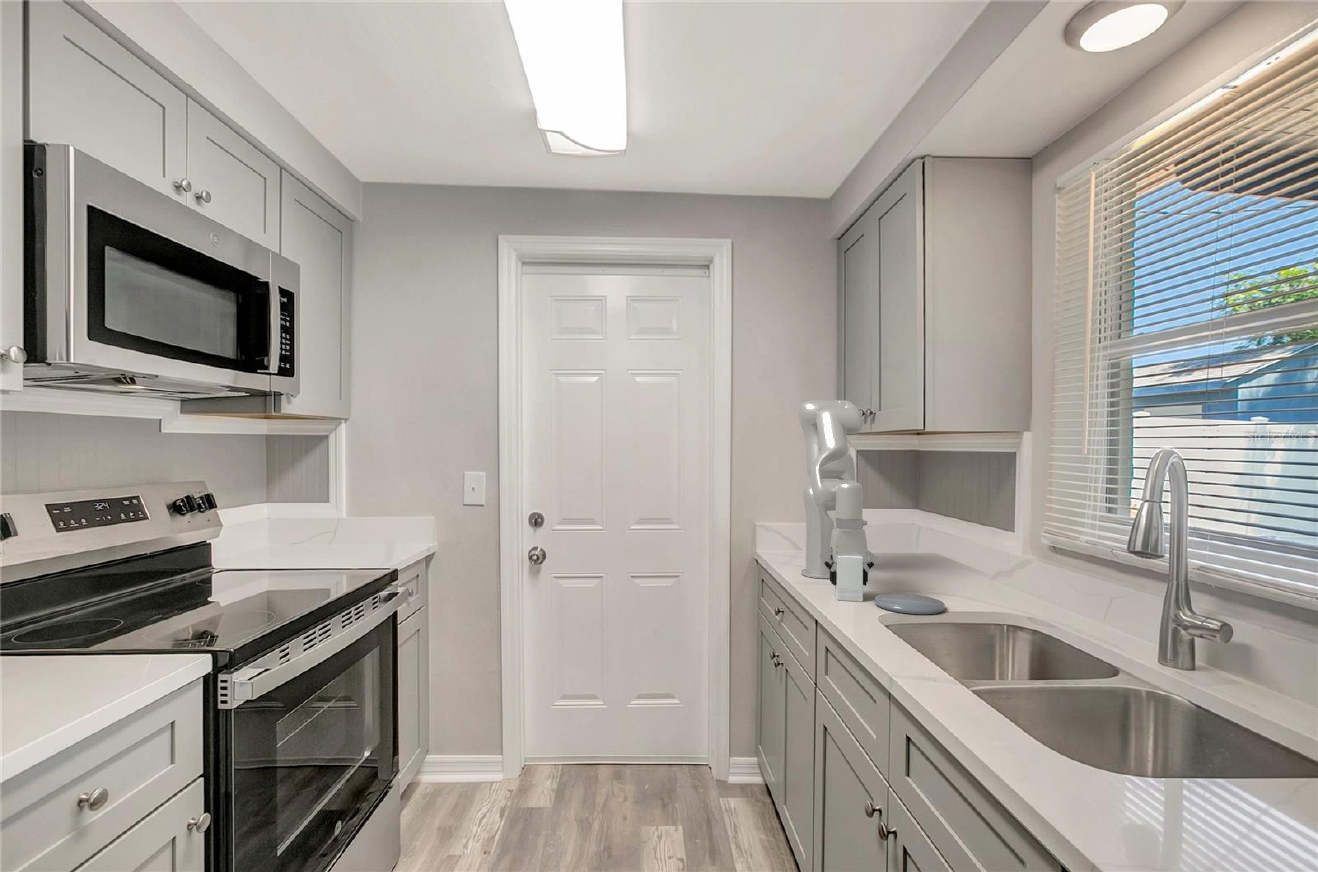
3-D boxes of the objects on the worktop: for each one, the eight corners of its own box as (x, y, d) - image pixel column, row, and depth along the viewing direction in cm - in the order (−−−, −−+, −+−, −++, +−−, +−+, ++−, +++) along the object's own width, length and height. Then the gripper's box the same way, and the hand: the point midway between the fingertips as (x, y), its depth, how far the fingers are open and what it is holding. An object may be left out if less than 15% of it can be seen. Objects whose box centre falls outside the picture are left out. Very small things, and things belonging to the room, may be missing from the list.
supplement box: (863, 601, 178) (863, 557, 178) (836, 600, 179) (836, 556, 180) (860, 595, 185) (860, 553, 185) (834, 594, 187) (834, 552, 187)
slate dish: (865, 598, 182) (865, 593, 182) (927, 598, 182) (927, 593, 182) (888, 615, 164) (888, 609, 164) (956, 615, 164) (956, 609, 164)
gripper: (874, 523, 186) (874, 581, 186) (815, 522, 186) (815, 581, 186) (883, 526, 179) (883, 587, 179) (822, 526, 179) (822, 587, 179)
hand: (848, 584), depth 182 cm, fingers closed on supplement box, 8 cm apart
